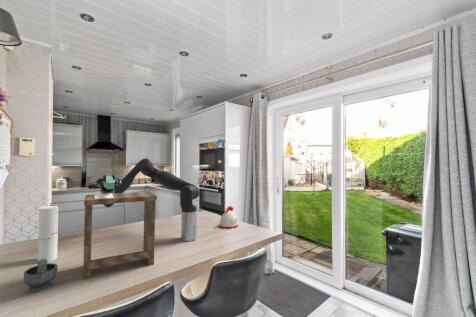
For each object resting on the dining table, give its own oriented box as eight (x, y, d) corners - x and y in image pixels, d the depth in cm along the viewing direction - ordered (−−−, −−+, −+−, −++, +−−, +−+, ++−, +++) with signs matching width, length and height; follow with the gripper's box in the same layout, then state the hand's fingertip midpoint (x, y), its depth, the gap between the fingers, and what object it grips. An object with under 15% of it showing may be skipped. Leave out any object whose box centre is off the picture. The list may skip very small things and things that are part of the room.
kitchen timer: (241, 226, 171) (242, 206, 171) (228, 230, 161) (229, 209, 161) (228, 222, 180) (229, 203, 180) (215, 226, 170) (216, 206, 170)
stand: (148, 252, 119) (149, 190, 119) (155, 265, 105) (156, 195, 106) (83, 265, 104) (85, 194, 105) (82, 280, 91) (84, 199, 91)
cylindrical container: (60, 257, 112) (61, 206, 112) (44, 263, 105) (45, 209, 105) (50, 255, 114) (52, 205, 114) (34, 261, 107) (35, 207, 108)
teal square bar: (111, 181, 128) (111, 175, 128) (114, 188, 106) (114, 182, 106) (105, 181, 127) (105, 175, 126) (106, 189, 104) (106, 182, 104)
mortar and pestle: (23, 286, 86) (23, 254, 86) (54, 278, 92) (55, 248, 93) (24, 300, 78) (25, 264, 78) (58, 289, 84) (59, 257, 85)
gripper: (94, 183, 133) (93, 170, 120) (121, 183, 140) (123, 170, 127) (93, 195, 129) (93, 183, 117) (121, 194, 137) (123, 182, 124)
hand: (109, 176), depth 122 cm, fingers closed on teal square bar, 3 cm apart
